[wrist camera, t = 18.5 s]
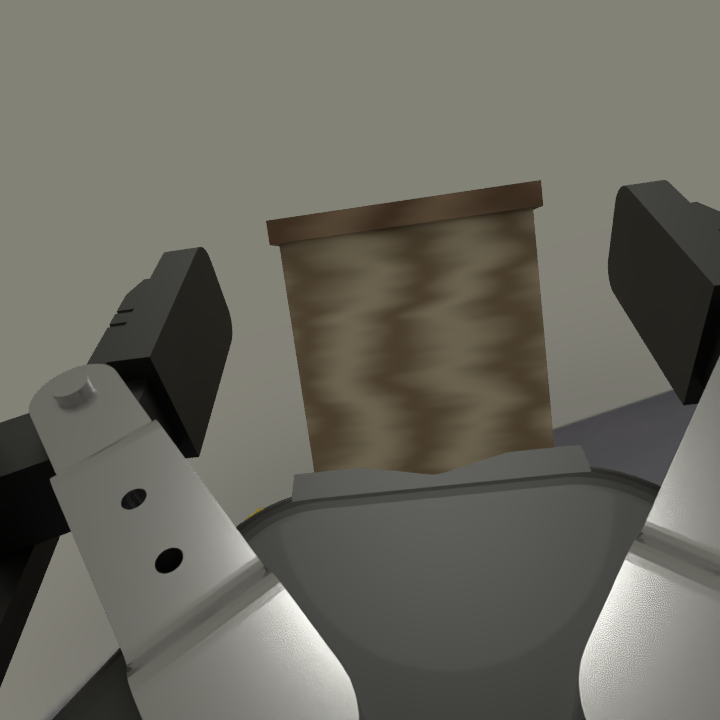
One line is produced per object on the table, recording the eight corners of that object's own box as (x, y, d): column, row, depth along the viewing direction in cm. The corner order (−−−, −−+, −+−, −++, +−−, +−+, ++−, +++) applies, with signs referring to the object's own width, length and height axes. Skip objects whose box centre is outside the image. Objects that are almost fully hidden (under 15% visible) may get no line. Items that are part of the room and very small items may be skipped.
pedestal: (534, 552, 55) (501, 204, 50) (582, 659, 40) (540, 180, 35) (355, 568, 57) (306, 232, 52) (337, 676, 42) (266, 220, 37)
